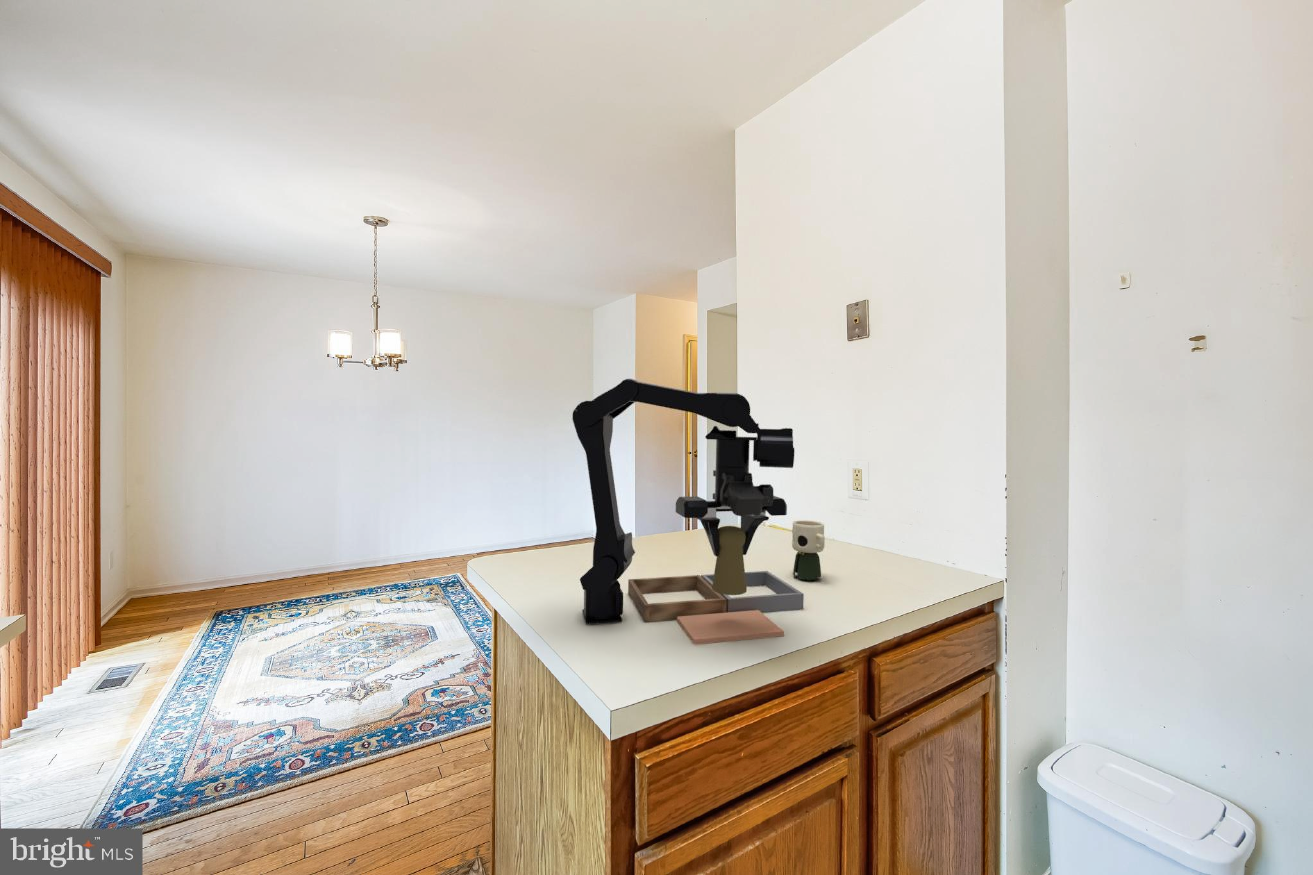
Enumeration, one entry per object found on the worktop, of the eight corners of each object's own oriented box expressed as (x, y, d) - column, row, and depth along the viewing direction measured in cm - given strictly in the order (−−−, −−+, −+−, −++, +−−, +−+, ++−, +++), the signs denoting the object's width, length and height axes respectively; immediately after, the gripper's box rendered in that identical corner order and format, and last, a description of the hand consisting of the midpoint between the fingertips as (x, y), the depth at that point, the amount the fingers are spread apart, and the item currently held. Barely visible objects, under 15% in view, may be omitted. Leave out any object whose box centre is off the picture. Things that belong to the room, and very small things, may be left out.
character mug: (780, 573, 124) (781, 519, 123) (804, 570, 127) (805, 517, 126) (809, 587, 114) (810, 528, 113) (835, 583, 116) (836, 526, 116)
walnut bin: (644, 622, 92) (644, 605, 92) (628, 593, 108) (628, 579, 108) (726, 615, 96) (726, 599, 96) (699, 588, 111) (699, 574, 111)
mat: (694, 644, 84) (694, 639, 84) (676, 620, 93) (676, 616, 93) (784, 635, 87) (784, 631, 87) (758, 614, 97) (758, 609, 97)
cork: (746, 596, 87) (748, 531, 86) (710, 593, 88) (711, 529, 87) (747, 585, 93) (748, 524, 92) (713, 582, 94) (714, 522, 93)
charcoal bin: (728, 615, 96) (728, 599, 96) (700, 588, 112) (701, 574, 111) (803, 608, 100) (803, 593, 100) (767, 584, 115) (767, 570, 115)
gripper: (696, 470, 79) (693, 571, 80) (804, 470, 84) (801, 565, 85) (675, 464, 90) (673, 553, 91) (772, 464, 95) (770, 548, 95)
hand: (729, 555), depth 90 cm, fingers closed on cork, 5 cm apart
